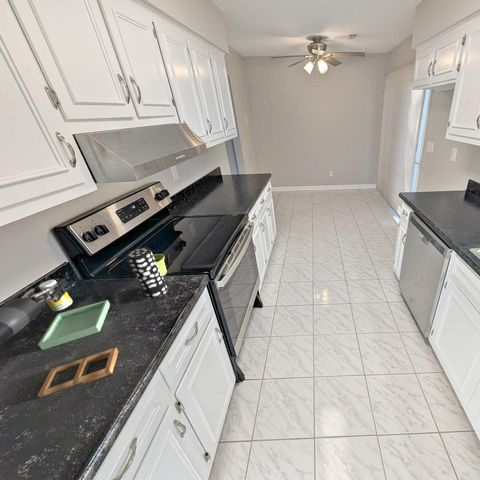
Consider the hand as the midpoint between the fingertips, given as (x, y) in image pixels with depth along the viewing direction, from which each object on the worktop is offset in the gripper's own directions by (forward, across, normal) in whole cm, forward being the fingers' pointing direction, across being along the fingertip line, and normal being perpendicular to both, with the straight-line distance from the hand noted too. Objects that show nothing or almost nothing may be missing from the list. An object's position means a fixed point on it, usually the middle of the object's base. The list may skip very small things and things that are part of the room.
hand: (55, 282), depth 86 cm
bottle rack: (-24, -14, +19) cm, 33 cm away
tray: (-1, +1, +19) cm, 19 cm away
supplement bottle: (-3, 0, +8) cm, 9 cm away
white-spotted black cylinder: (+13, -21, +19) cm, 31 cm away
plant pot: (+27, -18, +19) cm, 37 cm away
